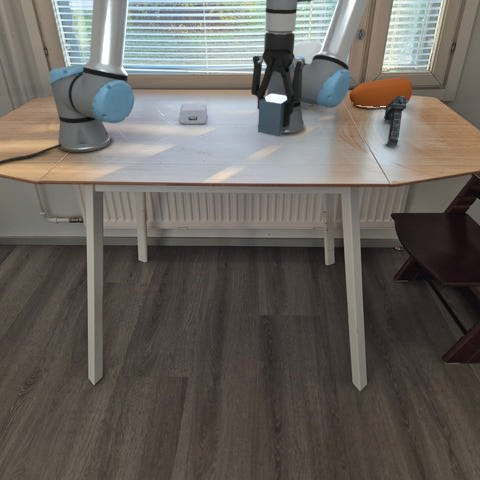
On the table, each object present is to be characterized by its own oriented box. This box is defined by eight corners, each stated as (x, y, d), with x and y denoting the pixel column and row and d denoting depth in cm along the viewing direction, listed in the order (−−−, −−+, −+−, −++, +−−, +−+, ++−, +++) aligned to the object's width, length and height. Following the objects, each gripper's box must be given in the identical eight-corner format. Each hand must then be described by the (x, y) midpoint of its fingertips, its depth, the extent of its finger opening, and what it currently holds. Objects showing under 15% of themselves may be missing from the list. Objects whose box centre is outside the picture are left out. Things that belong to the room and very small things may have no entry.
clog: (353, 116, 162) (414, 107, 163) (355, 88, 156) (419, 80, 157) (344, 107, 172) (401, 99, 173) (345, 80, 165) (405, 72, 166)
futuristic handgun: (389, 146, 153) (397, 104, 149) (399, 145, 125) (409, 94, 122) (379, 144, 154) (386, 103, 150) (386, 144, 126) (395, 93, 122)
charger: (207, 110, 158) (206, 123, 146) (183, 110, 158) (180, 123, 146) (206, 98, 156) (205, 110, 143) (182, 98, 155) (179, 110, 143)
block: (289, 127, 117) (292, 96, 112) (278, 136, 111) (281, 103, 106) (269, 124, 119) (271, 93, 114) (257, 132, 113) (259, 100, 108)
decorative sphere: (262, 73, 173) (275, 25, 150) (318, 71, 177) (338, 25, 154) (272, 121, 166) (286, 79, 143) (329, 118, 170) (353, 77, 147)
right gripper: (322, 33, 100) (311, 125, 113) (251, 27, 107) (249, 114, 120) (311, 37, 94) (301, 133, 107) (238, 30, 102) (237, 121, 115)
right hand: (274, 123), depth 114 cm, fingers closed on block, 6 cm apart
